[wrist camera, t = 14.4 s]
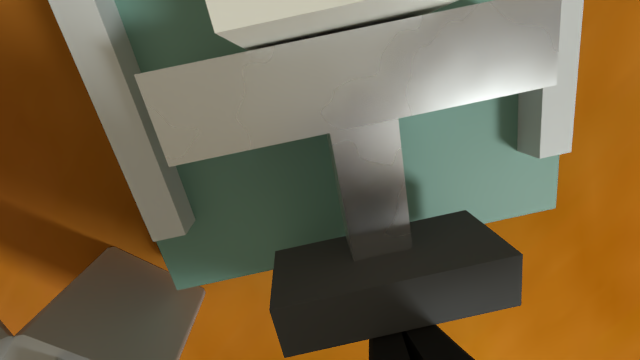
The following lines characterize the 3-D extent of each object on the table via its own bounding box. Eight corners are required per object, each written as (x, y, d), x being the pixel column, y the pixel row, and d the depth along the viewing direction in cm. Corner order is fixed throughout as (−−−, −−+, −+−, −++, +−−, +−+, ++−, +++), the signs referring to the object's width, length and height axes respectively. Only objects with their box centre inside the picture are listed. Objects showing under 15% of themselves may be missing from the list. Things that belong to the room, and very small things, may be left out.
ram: (492, 9, 9) (614, -31, 5) (493, 226, 11) (579, 292, 8) (176, 74, 9) (102, 74, 5) (244, 280, 11) (224, 371, 8)
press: (544, -356, 8) (788, -772, 4) (526, 193, 13) (625, 243, 9) (-17, -251, 7) (-331, -582, 4) (190, 265, 12) (146, 348, 9)
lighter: (207, 290, 13) (87, 592, 5) (188, 318, 13) (51, 638, 6) (28, 206, 11) (-521, 481, 4) (12, 242, 12) (-515, 558, 4)
